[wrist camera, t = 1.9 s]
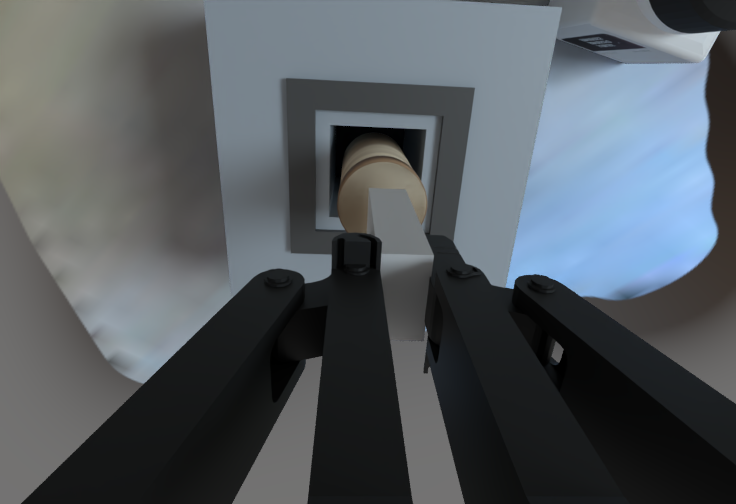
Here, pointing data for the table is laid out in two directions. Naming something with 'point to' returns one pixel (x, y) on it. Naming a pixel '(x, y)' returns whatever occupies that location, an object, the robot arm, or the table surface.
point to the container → (645, 28)
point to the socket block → (373, 118)
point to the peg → (375, 179)
